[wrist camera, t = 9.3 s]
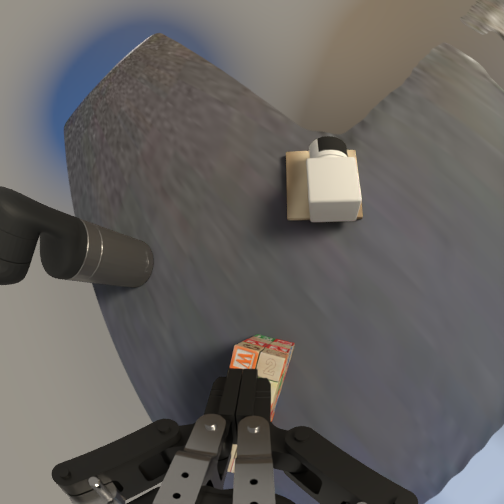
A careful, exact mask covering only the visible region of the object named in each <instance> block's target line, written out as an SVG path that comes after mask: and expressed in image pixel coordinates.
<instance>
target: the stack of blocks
mask: <svg viewBox="0 0 504 504" xmlns="http://www.w3.org/2000/svg"><path fill="white" fill-rule="evenodd" d="M294 345H295V344H294V343H291V342H287V341H283V340H279V339H274V338H270V337H266V336H262V335H259V334H257V335H255V336H253V337H251V338H249V339H246V340H244V341H242V342H241V343H238V344H236V345H235V346H234V350H233V354H232V359H231V363H230V368H239V369H258V378H268V380H269V382H270V383H271V422H272V419H273V416H274V413H275V408H276V405H277V401H278V398H279V395H280V391H281V388H282V385H283V381H284V378H285V376H286V372H287V369H288V365H289V362H290V359H291V356H292V352H293V348H294ZM236 457H237V445H236V444H233V446H232V451H231V460H230V463H229V467H228V470H227V471H228V472H232V473H234V468H235V458H236Z"/></svg>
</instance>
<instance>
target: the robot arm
mask: <svg viewBox="0 0 504 504" xmlns="http://www.w3.org/2000/svg"><path fill="white" fill-rule="evenodd" d="M39 235H40V257H41V262H42V265H43V267H44V269H45V271H46V272H47V273H48V274H49V275H50V276H52V277H54V278H58V279H65V280H72V281H82V282H89V283H97V284H105V285H114V286H123V287H134V288H135V287H139V286H141V285H143V284H144V283H145V282H146V281H147V280H148V279H149V277H150V275H151V272H152V269H153V254H152V251H151V249H150V248H149V246H148V245H147V244H146V243H145V242H143V241H140V240H138V239H135V238H132V237H129V236H127V235H124V234H121V233H118V232H115V231H113V230H110V229H107V228H104V227H101V226H99V225H96V224H93V223H90V222H87V221H85V220H82V219H79V218H77V217H74V216H71V215H68V214H66V213H63V212H60V211H58V210H55V209H53V208H50V207H48V206H46V205H43V204H41V203H39V202H37V201H35V200H33V199H31V198H29V197H27V196H25V195H22V194H21V193H18V192H16V191H13V190H12V189H8V188H5V187H0V285H9V284H15V283H18V282H20V281H21V280H23V279H24V278H25V276H26V274H27V272H28V269H29V267H30V263H31V260H32V256H33V253H34V250H35V247H36V244H37V241H38V238H39ZM233 444H236V445H237V457H236V458H235V468H234V488H233V489H225V490H223V485H224V481H225V477H226V474H227V470H228V467H229V463H230V460H231V451H232V446H233ZM273 468H275V469H279V470H283V471H284V473H285V474H286V475H287V476H288V477H289V478H290V479H291V480H292V481H294V482H295V483H296V484H297V485H298V486H299V487H300V488H302V489H303V490H304V491H305V492H306V493H308V494H309V495H310V496H311V497H313V498H314V499H315V500H316V501H318V502H319V503H320V504H418V499H417V497H416V496H415V494H414V493H412V492H410V491H408V490H407V489H405V488H403V487H401V486H399V485H397V484H396V483H394V482H392V481H390V480H389V479H387V478H385V477H384V476H382V475H380V474H379V473H377V472H375V471H374V470H372V469H370V468H369V467H367V466H366V465H364V464H362V463H361V462H359V461H358V460H356V459H355V458H353V457H352V456H350V455H349V454H347V453H346V452H344V451H343V450H341V449H340V448H338V447H337V446H335V445H334V444H332V443H331V442H330V441H328V440H327V439H325V438H324V437H323V436H321V435H320V434H318V433H317V432H316V431H314V430H313V429H311V428H309V427H305V426H298V427H294V428H292V429H290V430H289V431H287V430H283V429H279V428H277V427H276V426H274V425H273V424H272V422H271V383H270V382H269V380H268V378H258V369H239V368H229V370H228V374H227V377H219V378H218V379H217V380H216V381H215V382H214V383H213V386H212V391H211V393H210V396H209V400H208V403H207V406H206V410H205V413H204V415H203V416H201V417H200V418H198V420H197V421H196V423H194V424H190V425H183V426H178V424H177V423H176V422H175V421H173V420H170V419H160V420H157V421H155V422H153V423H151V424H149V425H147V426H146V427H144V428H141V429H139V430H137V431H135V432H134V433H131V434H129V435H127V436H125V437H123V438H121V439H118V440H116V441H114V442H112V443H110V444H107V445H105V446H103V447H100V448H98V449H96V450H93V451H91V452H88V453H86V454H84V455H81V456H79V457H76V458H73V459H71V460H68V461H65V462H63V463H60V464H58V465H56V466H55V467H54V468H53V470H52V478H53V480H54V481H55V482H56V483H57V484H58V485H59V486H60V487H61V488H62V490H63V491H64V492H65V493H66V494H67V495H68V496H69V497H70V499H71V501H72V503H73V504H125V500H127V499H129V498H131V497H133V496H135V495H137V494H139V493H141V492H143V491H145V490H147V489H149V488H151V487H153V486H155V485H157V484H158V483H160V482H162V481H163V482H162V484H161V486H160V487H157V488H155V489H153V490H151V491H149V492H147V493H146V494H144V495H142V496H140V497H138V498H137V499H134V500H133V501H131V502H129V503H127V504H295V503H294V502H292V501H291V500H289V499H287V498H286V497H283V496H281V495H278V494H275V489H274V475H273Z"/></svg>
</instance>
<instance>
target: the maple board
mask: <svg viewBox="0 0 504 504" xmlns="http://www.w3.org/2000/svg"><path fill="white" fill-rule="evenodd" d="M347 154H348V157H354V158H355V160H356V165H357V159H356V152H355V150H347ZM308 158H310V155H309V151H297V152H286V171H287V219H288V220H310V212H309V202H308V184H307V169H306V159H308ZM357 171H358V167H357ZM358 177H359V175H358ZM359 184H360V183H359ZM362 217H363V214H362V203H361V205H360V208H359V212H358V215H357V218H356V219H362Z"/></svg>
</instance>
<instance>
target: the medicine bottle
mask: <svg viewBox="0 0 504 504" xmlns="http://www.w3.org/2000/svg"><path fill="white" fill-rule="evenodd" d="M309 155H310V158H308V159H306V169H307V184H308V202H309V212H310V221H311V222H335V221H355V220H356V218H357V215H358V212H359V208H360V205H361V201H362V197H361V190H360V184H359V177H358V171H357V165H356V160H355V158H354V157H348V154H347V148H346V145H345V143H344V142H343V141H342V140H340V139H338V138H336V137H330V136H327V137H321V138H318V139H316V140H315V141H313V142H312V143H311V144H310V146H309Z"/></svg>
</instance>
